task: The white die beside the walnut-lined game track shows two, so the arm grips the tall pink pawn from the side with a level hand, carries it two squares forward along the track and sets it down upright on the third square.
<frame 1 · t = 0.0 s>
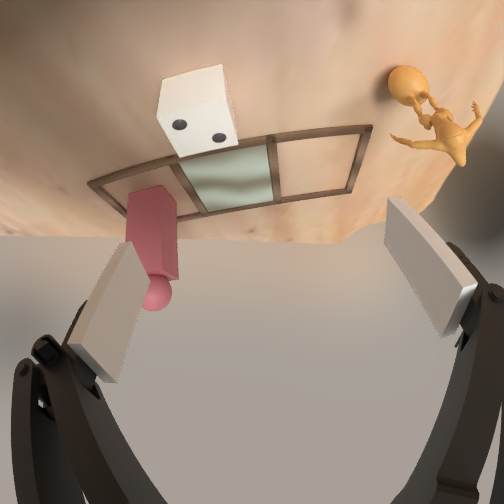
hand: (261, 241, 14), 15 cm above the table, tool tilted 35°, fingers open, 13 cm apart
pawn: (153, 198, 36), resting in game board
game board: (232, 181, 35), on the table
die: (199, 92, 21), on the table
figurine: (395, 64, 18), on the table
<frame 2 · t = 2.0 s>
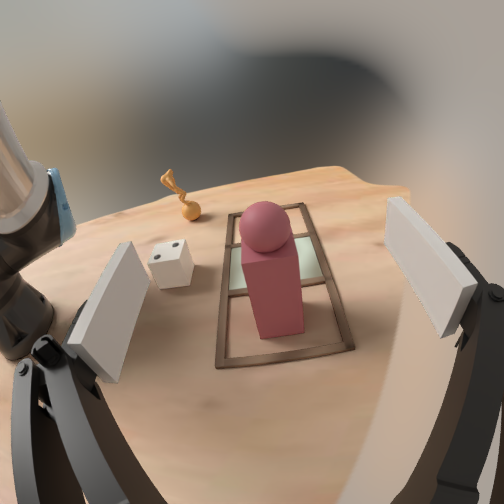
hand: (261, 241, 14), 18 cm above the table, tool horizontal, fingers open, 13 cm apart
pawn: (280, 319, 33), resting in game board
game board: (273, 262, 41), on the table
die: (177, 276, 43), on the table
figurine: (189, 221, 58), on the table
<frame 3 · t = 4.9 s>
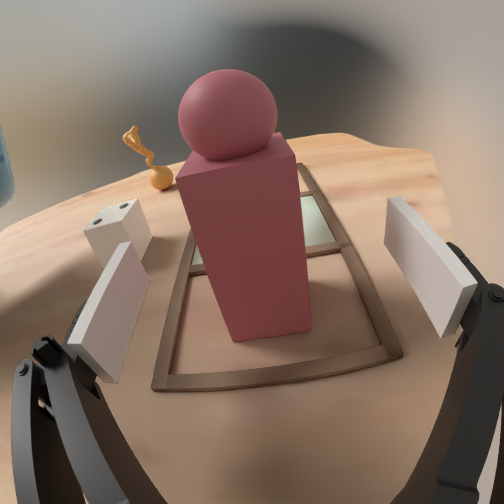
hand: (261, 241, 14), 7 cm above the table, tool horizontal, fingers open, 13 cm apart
pawn: (268, 308, 19), resting in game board
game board: (260, 227, 28), on the table
die: (128, 252, 29), on the table
figurine: (159, 192, 44), on the table
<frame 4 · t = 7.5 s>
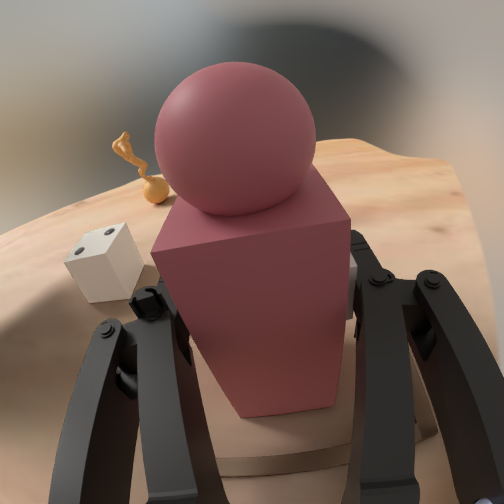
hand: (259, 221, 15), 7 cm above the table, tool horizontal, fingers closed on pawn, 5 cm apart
pawn: (283, 374, 15), resting in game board, touching gripper
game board: (269, 260, 24), on the table
die: (116, 283, 25), on the table
figurine: (154, 205, 40), on the table
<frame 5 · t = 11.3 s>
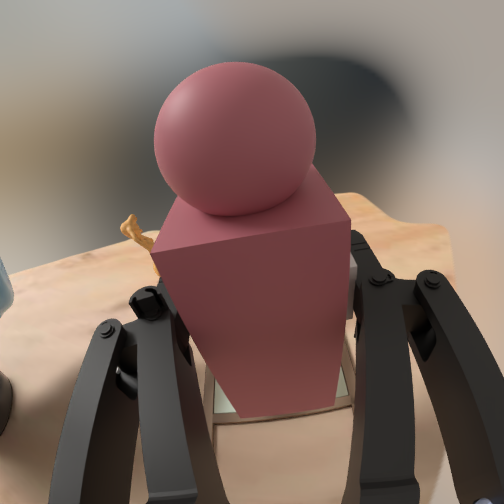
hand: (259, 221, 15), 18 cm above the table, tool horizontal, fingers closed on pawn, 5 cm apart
pawn: (283, 375, 15), point 11 cm above the table, touching gripper
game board: (276, 366, 27), on the table
figurine: (165, 279, 43), on the table
when the fingers open (9 cm above the table, at t = 15.4 s): pawn drops 1 cm, resting in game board.
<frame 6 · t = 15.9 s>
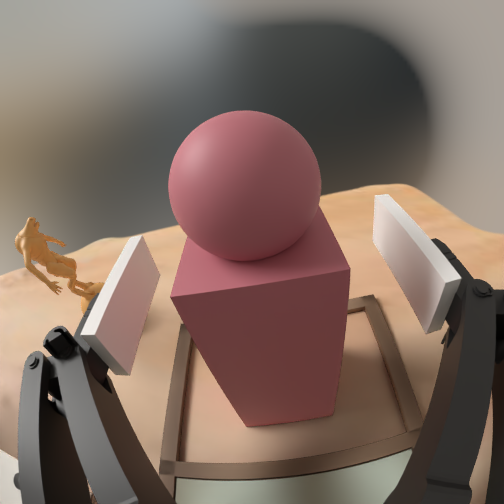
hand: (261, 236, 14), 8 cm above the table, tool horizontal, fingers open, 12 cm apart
pawn: (285, 386, 16), resting in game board
figurine: (104, 325, 23), on the table
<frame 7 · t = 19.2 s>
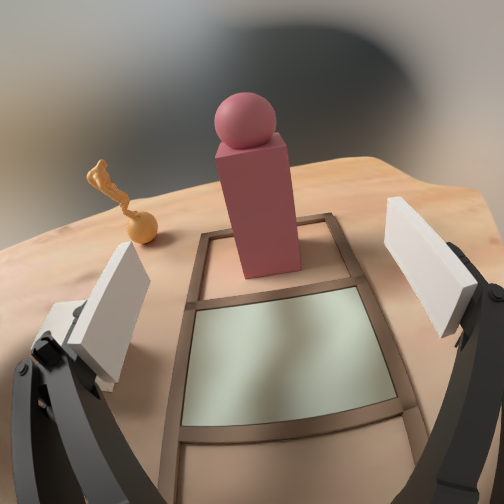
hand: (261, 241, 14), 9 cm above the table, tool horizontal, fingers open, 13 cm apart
pawn: (270, 257, 27), resting in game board
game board: (282, 355, 18), on the table
die: (96, 364, 19), on the table
figurine: (141, 245, 34), on the table
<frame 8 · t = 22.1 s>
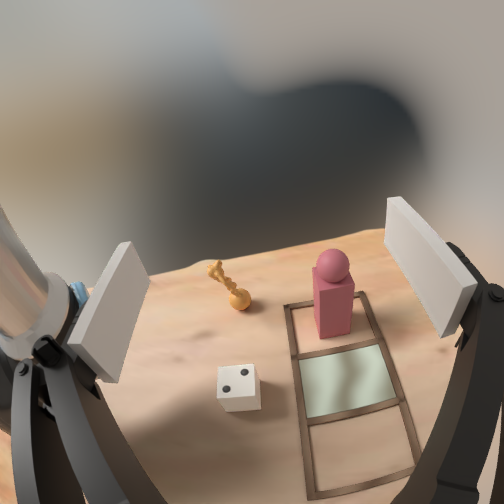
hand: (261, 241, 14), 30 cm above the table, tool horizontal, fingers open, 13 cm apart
pawn: (331, 324, 44), resting in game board
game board: (346, 380, 35), on the table
die: (243, 396, 37), on the table
figurine: (237, 310, 52), on the table
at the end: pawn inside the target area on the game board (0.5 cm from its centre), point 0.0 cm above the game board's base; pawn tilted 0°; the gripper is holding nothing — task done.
